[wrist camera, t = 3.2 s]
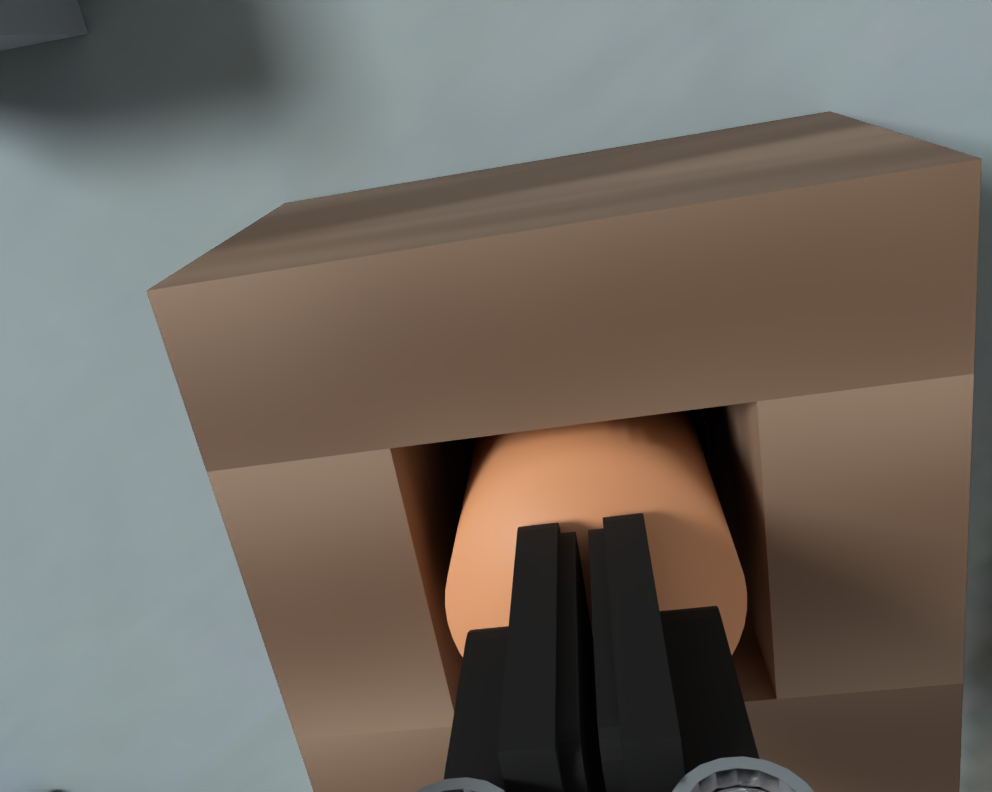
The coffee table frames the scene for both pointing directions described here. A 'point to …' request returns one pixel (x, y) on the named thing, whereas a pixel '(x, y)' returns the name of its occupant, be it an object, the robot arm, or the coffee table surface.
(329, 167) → the coffee table surface
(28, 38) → the gray rectangular block
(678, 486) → the orange ball
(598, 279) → the walnut housing
